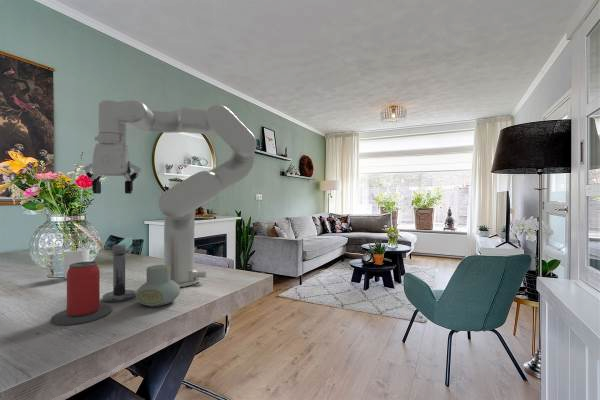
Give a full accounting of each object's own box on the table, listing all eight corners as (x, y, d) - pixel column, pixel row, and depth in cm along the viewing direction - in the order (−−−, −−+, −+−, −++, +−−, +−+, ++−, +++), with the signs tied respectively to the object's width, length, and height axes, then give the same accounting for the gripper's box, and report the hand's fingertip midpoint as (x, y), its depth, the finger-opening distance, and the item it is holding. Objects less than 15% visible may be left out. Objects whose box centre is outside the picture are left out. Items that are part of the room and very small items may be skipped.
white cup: (94, 275, 114) (94, 248, 114) (73, 280, 106) (73, 252, 106) (79, 273, 116) (79, 247, 116) (57, 279, 109) (57, 250, 109)
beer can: (105, 308, 78) (105, 261, 78) (85, 318, 71) (85, 266, 71) (82, 307, 79) (82, 260, 79) (59, 317, 72) (59, 266, 72)
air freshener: (130, 308, 80) (130, 269, 80) (148, 297, 88) (147, 263, 88) (170, 309, 79) (170, 270, 79) (184, 298, 88) (184, 263, 87)
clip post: (140, 293, 92) (140, 251, 92) (126, 302, 84) (126, 256, 84) (112, 293, 92) (112, 251, 92) (96, 302, 84) (96, 257, 84)
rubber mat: (120, 306, 81) (120, 303, 81) (92, 324, 69) (92, 322, 69) (73, 307, 81) (73, 304, 81) (37, 326, 69) (37, 323, 69)
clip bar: (124, 254, 87) (124, 245, 87) (111, 254, 86) (111, 246, 86) (134, 243, 107) (134, 236, 107) (123, 244, 106) (123, 237, 106)
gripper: (76, 137, 94) (77, 193, 94) (135, 138, 96) (135, 193, 96) (91, 142, 102) (91, 193, 102) (145, 143, 103) (145, 193, 103)
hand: (112, 193), depth 99 cm, fingers open, 9 cm apart
